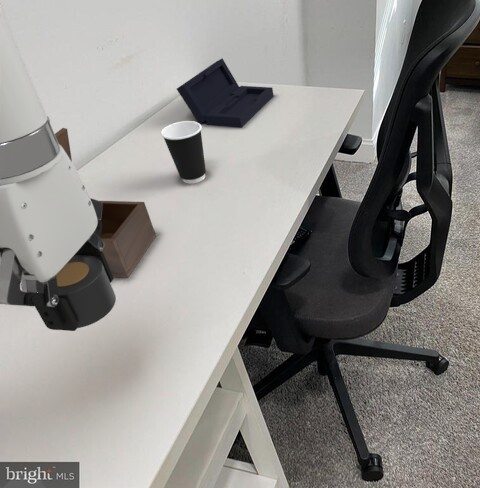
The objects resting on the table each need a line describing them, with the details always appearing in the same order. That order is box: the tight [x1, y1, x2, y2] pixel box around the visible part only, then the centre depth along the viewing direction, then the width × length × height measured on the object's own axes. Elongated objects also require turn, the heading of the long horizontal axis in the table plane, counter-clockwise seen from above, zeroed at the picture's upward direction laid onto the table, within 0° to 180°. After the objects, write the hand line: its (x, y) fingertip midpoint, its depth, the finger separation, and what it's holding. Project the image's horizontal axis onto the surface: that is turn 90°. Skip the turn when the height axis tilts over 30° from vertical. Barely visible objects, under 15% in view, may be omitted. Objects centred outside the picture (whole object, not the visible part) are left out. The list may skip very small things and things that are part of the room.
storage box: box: [176, 57, 274, 128], centre depth 127 cm, size 21×16×10 cm
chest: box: [100, 200, 157, 279], centre depth 80 cm, size 13×11×7 cm
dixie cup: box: [160, 120, 207, 185], centre depth 98 cm, size 8×8×11 cm
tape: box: [36, 255, 117, 329], centre depth 50 cm, size 6×6×5 cm
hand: (82, 302), depth 51 cm, fingers closed on tape, 6 cm apart
